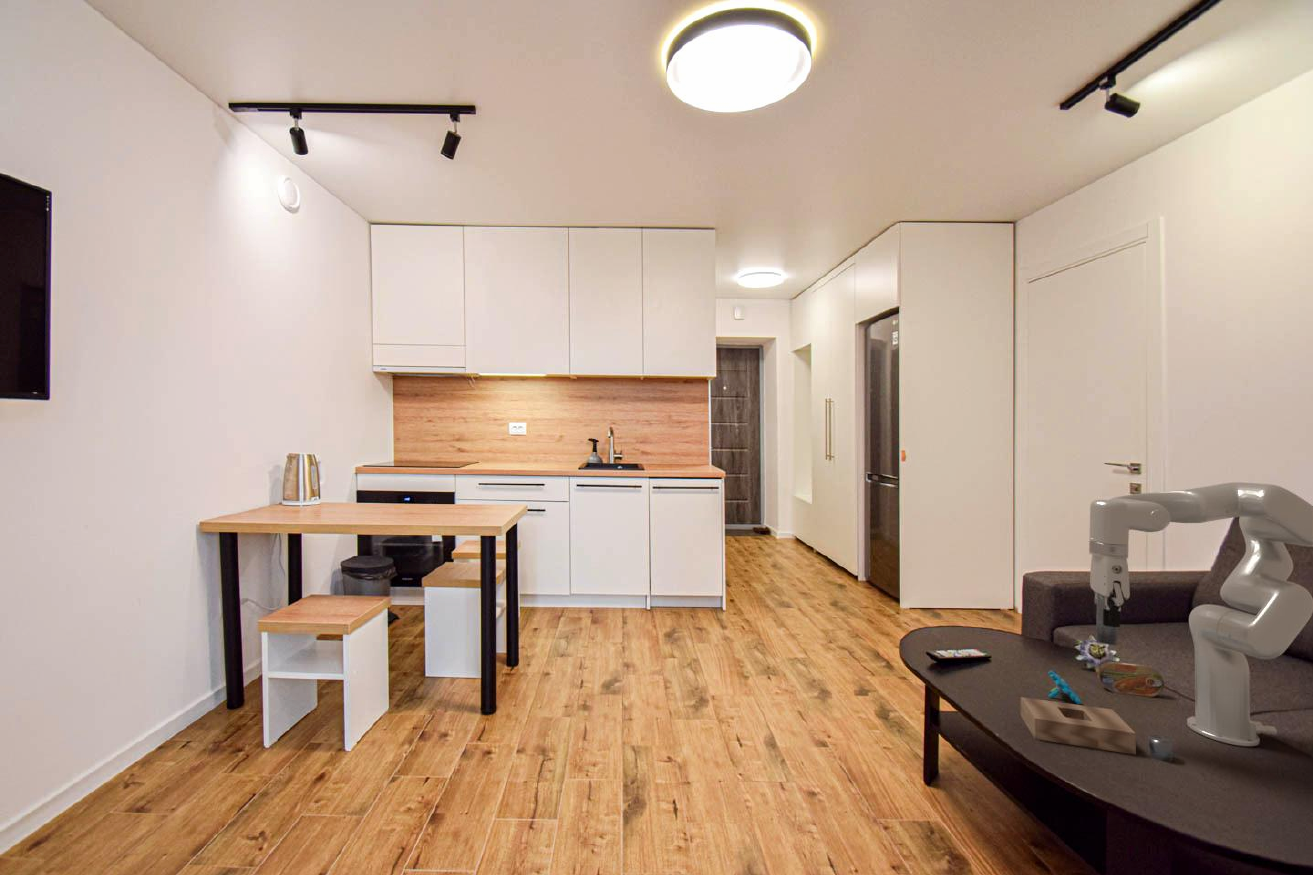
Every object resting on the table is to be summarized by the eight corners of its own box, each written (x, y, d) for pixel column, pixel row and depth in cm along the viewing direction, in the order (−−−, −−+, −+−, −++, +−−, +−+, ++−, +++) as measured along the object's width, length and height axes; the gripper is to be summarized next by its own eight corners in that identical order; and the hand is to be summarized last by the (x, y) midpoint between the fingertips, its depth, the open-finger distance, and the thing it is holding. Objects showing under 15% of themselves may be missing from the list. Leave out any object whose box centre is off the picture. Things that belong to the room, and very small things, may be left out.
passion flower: (1097, 689, 173) (1075, 658, 173) (1081, 669, 184) (1059, 640, 184) (1134, 673, 170) (1111, 642, 170) (1115, 654, 180) (1093, 625, 180)
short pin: (1166, 753, 127) (1166, 736, 128) (1176, 763, 124) (1176, 745, 124) (1145, 750, 129) (1145, 733, 129) (1154, 759, 125) (1154, 742, 125)
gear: (1085, 705, 147) (1052, 672, 152) (1066, 717, 149) (1034, 684, 154) (1082, 696, 156) (1052, 665, 161) (1064, 707, 158) (1034, 676, 163)
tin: (1099, 690, 160) (1099, 661, 160) (1095, 686, 163) (1095, 657, 163) (1165, 699, 155) (1164, 669, 155) (1159, 694, 158) (1159, 665, 158)
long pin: (1112, 640, 137) (1113, 584, 137) (1120, 645, 133) (1121, 588, 133) (1093, 638, 138) (1094, 582, 138) (1100, 643, 134) (1101, 586, 135)
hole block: (1112, 729, 138) (1112, 709, 138) (1135, 754, 127) (1135, 733, 127) (1020, 715, 145) (1020, 697, 145) (1035, 738, 134) (1034, 718, 134)
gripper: (1144, 557, 127) (1142, 636, 127) (1111, 545, 143) (1109, 615, 142) (1105, 554, 129) (1103, 631, 129) (1077, 543, 145) (1075, 612, 145)
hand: (1106, 622), depth 136 cm, fingers closed on long pin, 4 cm apart
